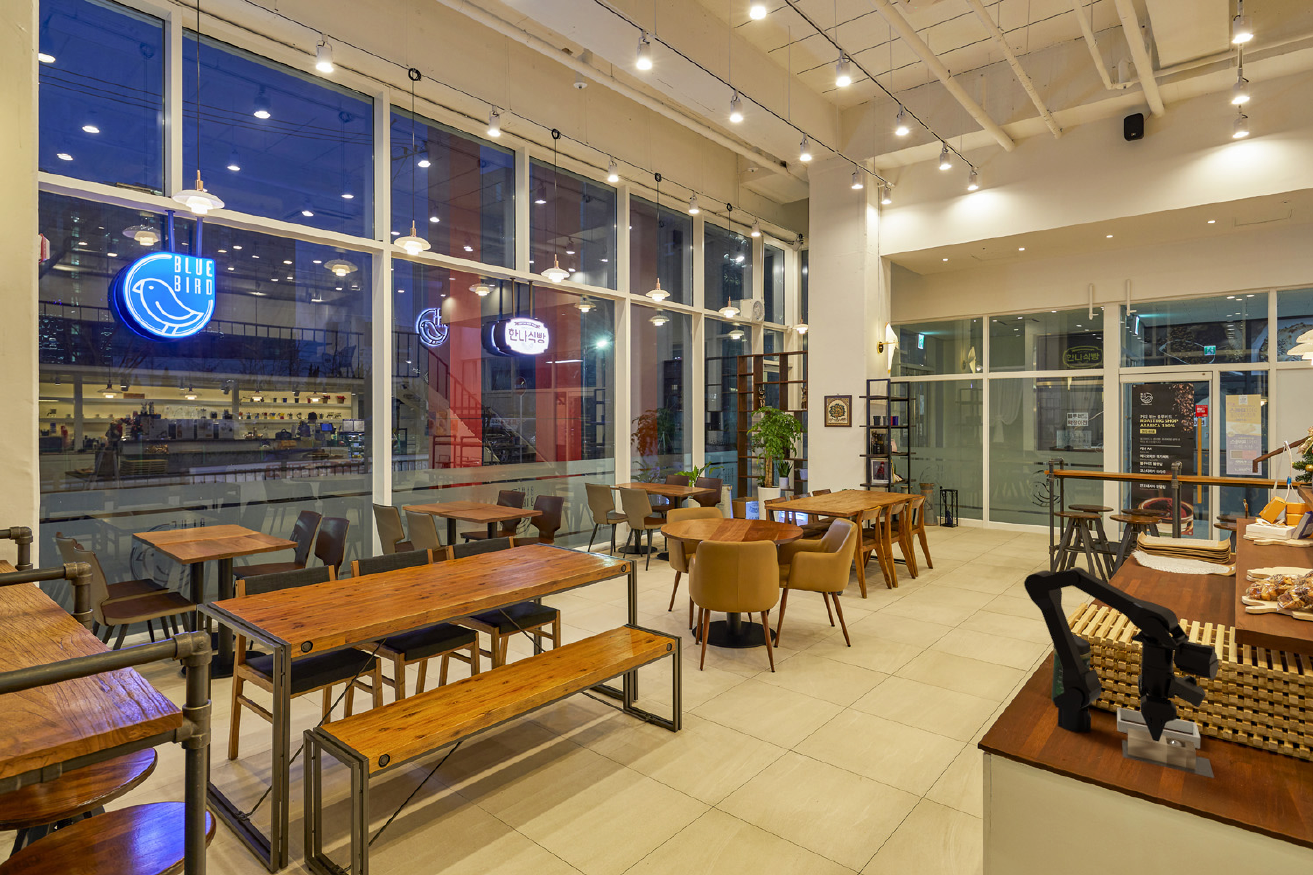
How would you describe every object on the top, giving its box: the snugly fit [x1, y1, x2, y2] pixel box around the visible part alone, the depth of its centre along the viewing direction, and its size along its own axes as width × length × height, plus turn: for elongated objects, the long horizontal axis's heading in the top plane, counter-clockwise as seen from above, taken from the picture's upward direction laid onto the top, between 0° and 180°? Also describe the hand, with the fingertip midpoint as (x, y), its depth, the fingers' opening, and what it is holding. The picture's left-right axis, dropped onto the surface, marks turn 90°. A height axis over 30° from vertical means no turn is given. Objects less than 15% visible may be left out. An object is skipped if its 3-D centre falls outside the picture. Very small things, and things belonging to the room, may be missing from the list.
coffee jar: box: [1051, 634, 1092, 703], centre depth 182 cm, size 10×8×19 cm
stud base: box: [1121, 739, 1215, 779], centre depth 152 cm, size 16×9×5 cm, turn 57°
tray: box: [1116, 706, 1201, 750], centre depth 164 cm, size 16×9×4 cm, turn 57°
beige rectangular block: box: [1127, 728, 1197, 769], centre depth 153 cm, size 12×5×4 cm, turn 57°
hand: (1154, 731), depth 153 cm, fingers open, 9 cm apart
